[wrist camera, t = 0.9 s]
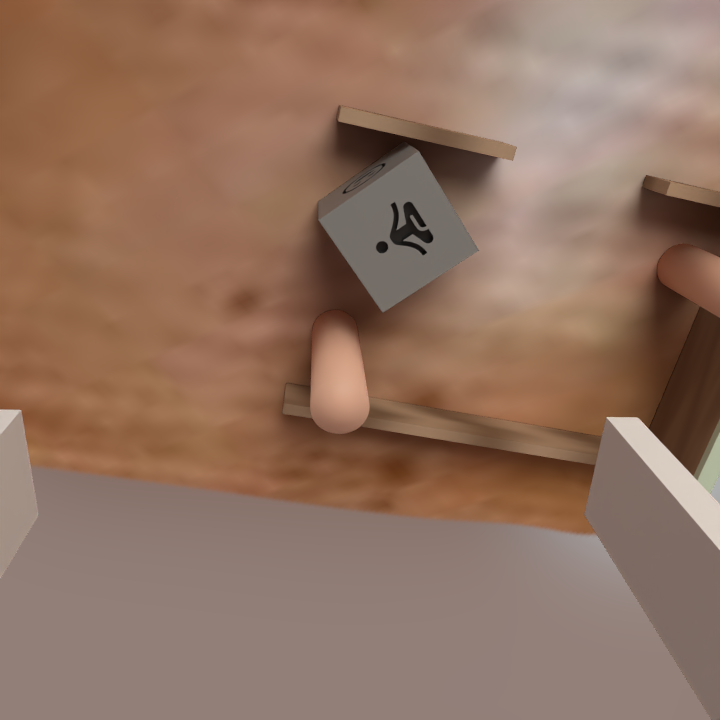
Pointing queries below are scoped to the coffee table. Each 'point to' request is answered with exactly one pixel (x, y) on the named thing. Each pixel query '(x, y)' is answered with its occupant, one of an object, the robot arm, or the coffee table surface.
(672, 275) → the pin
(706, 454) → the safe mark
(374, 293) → the dice cube
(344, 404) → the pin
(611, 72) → the coffee table surface
